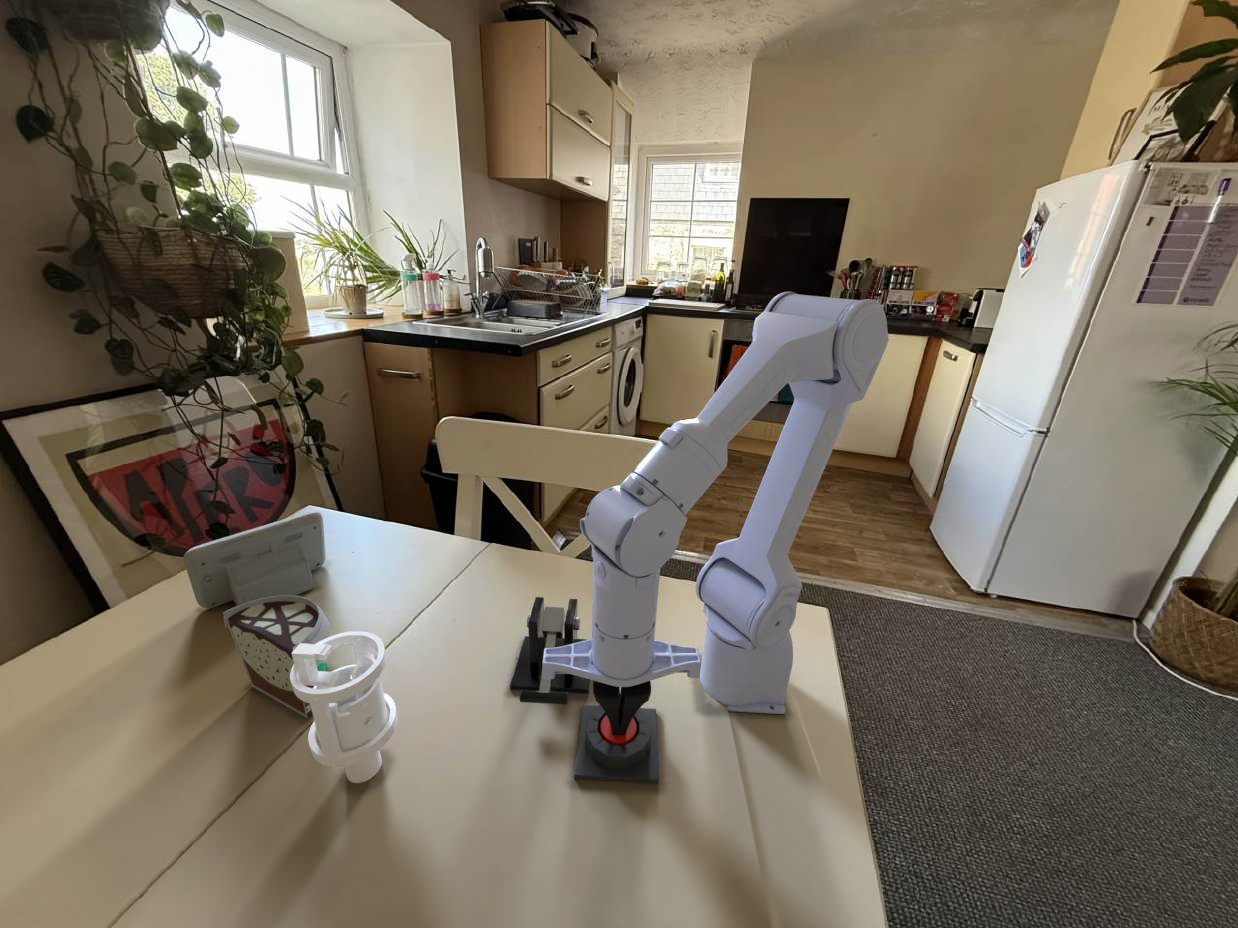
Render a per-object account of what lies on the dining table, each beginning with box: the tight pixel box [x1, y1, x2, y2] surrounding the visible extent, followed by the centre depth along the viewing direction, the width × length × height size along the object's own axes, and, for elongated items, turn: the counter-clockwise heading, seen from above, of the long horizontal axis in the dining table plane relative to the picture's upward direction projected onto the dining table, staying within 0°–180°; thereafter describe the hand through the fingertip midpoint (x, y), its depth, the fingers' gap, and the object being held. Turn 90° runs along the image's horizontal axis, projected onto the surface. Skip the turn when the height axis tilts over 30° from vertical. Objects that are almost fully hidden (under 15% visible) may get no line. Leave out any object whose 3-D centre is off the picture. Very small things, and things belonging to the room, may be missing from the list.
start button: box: [600, 715, 637, 746], centre depth 50 cm, size 4×4×2 cm
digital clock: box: [183, 511, 327, 609], centre depth 69 cm, size 16×9×11 cm, turn 127°
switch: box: [519, 606, 569, 706], centre depth 55 cm, size 10×5×2 cm
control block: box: [573, 704, 660, 785], centre depth 50 cm, size 8×8×3 cm
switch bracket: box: [509, 596, 591, 695], centre depth 58 cm, size 8×9×9 cm
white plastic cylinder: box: [290, 630, 398, 784], centre depth 44 cm, size 7×7×15 cm
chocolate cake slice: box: [222, 595, 330, 719], centre depth 55 cm, size 12×6×10 cm, turn 65°
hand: (618, 726), depth 49 cm, fingers closed, pressing on start button
